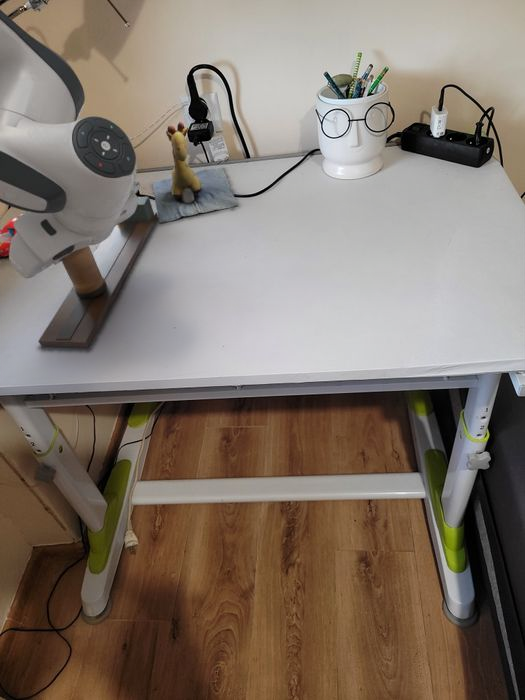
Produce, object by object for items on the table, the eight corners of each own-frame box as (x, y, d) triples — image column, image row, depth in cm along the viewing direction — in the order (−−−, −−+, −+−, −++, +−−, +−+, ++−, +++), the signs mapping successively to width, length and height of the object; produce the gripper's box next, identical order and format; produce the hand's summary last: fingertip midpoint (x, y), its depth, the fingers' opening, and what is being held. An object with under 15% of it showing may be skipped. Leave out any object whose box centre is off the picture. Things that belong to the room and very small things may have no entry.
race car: (7, 262, 98) (-3, 244, 95) (-12, 257, 100) (-22, 239, 97) (54, 225, 106) (46, 208, 103) (35, 221, 108) (27, 204, 105)
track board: (88, 348, 78) (85, 342, 77) (41, 346, 79) (37, 340, 78) (158, 217, 103) (156, 211, 102) (121, 218, 104) (119, 212, 103)
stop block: (151, 227, 101) (144, 204, 97) (118, 227, 102) (110, 205, 98) (155, 218, 103) (148, 196, 99) (123, 219, 104) (115, 197, 100)
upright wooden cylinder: (78, 302, 84) (39, 223, 73) (74, 285, 87) (36, 207, 76) (109, 292, 85) (75, 212, 74) (103, 275, 88) (70, 197, 77)
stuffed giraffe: (159, 223, 101) (139, 142, 90) (153, 185, 114) (134, 110, 103) (238, 207, 103) (227, 127, 92) (223, 172, 116) (212, 97, 105)
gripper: (128, 159, 73) (109, 202, 85) (2, 227, 63) (1, 265, 75) (156, 194, 74) (134, 233, 86) (36, 267, 64) (30, 299, 76)
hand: (71, 249), depth 81 cm, fingers closed on upright wooden cylinder, 5 cm apart
